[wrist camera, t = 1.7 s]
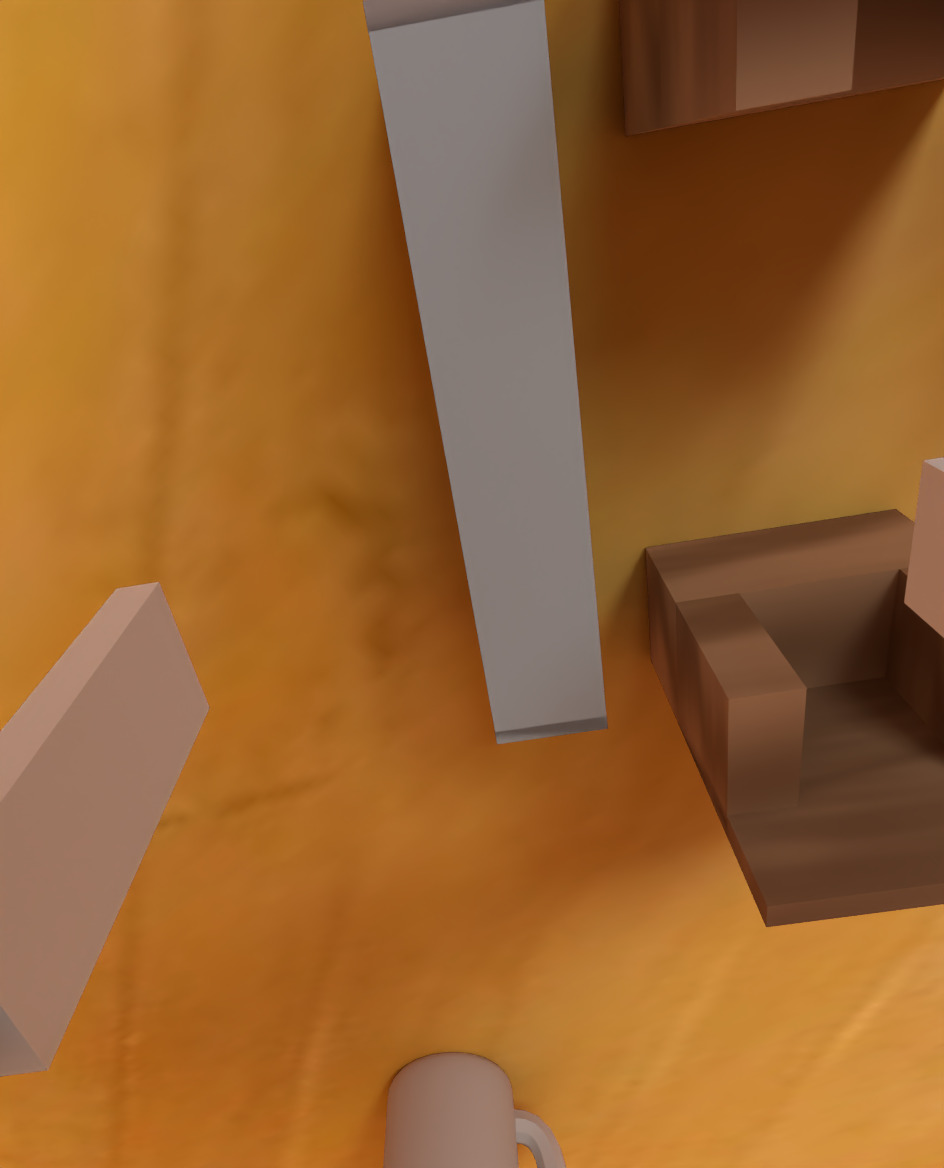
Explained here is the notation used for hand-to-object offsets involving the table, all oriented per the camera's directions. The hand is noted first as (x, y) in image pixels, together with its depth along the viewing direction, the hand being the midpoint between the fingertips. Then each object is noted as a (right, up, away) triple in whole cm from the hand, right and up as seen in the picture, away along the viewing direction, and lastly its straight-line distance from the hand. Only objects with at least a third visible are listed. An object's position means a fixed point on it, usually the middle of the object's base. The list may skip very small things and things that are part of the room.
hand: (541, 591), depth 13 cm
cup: (-1, -29, +31) cm, 42 cm away
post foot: (+10, 0, +15) cm, 18 cm away
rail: (0, +6, +11) cm, 13 cm away
